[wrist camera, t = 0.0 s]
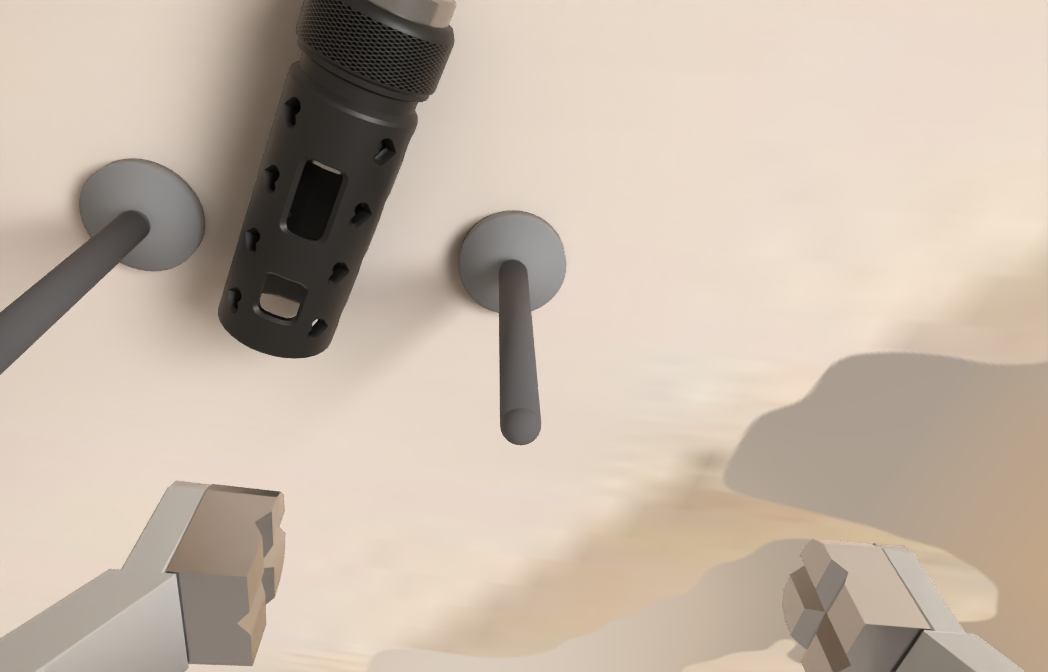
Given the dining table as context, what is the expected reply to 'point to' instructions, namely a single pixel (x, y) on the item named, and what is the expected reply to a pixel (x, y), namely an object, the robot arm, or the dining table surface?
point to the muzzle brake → (331, 164)
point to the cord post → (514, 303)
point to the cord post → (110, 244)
